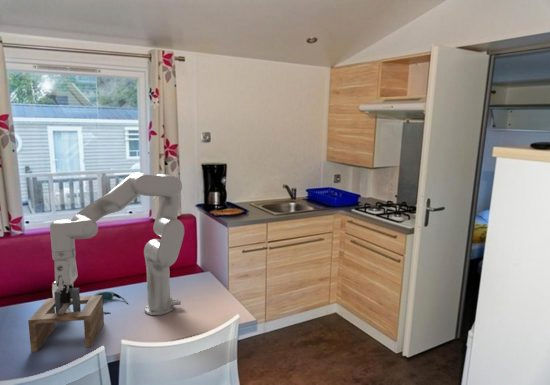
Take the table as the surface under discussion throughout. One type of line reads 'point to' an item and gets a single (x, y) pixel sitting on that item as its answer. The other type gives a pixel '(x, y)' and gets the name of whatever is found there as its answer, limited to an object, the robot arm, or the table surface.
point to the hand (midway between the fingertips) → (67, 300)
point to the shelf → (47, 318)
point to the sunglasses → (109, 296)
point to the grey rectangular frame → (75, 297)
